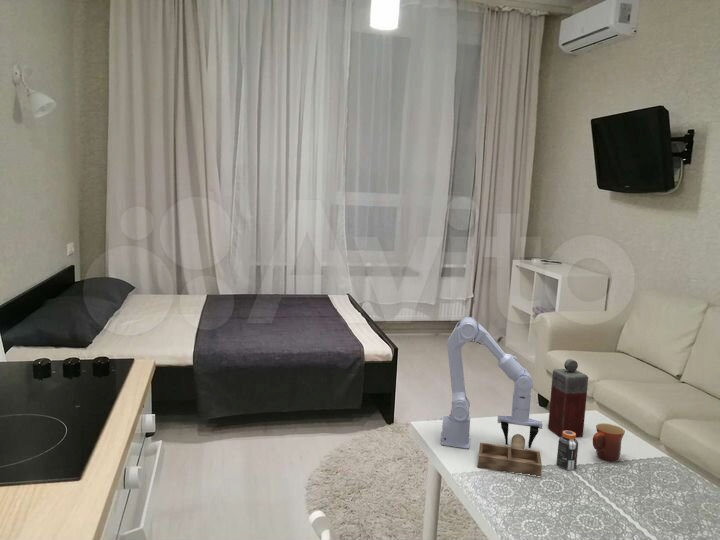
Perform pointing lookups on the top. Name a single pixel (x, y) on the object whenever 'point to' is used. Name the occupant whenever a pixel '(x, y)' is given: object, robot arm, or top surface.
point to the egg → (518, 441)
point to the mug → (608, 441)
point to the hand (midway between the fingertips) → (517, 445)
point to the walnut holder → (509, 459)
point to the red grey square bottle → (568, 400)
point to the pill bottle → (567, 450)
